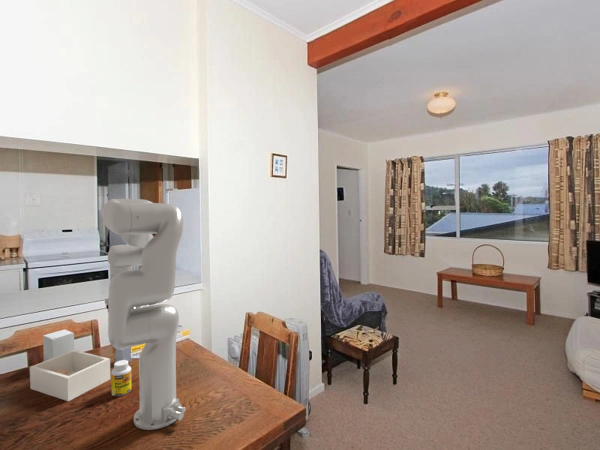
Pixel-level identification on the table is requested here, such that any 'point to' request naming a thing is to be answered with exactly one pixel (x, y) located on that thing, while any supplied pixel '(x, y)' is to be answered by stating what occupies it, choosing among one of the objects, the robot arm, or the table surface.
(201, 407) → the table surface
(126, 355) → the lid
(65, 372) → the terracotta block
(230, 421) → the table surface
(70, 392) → the storage box
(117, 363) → the supplement bottle
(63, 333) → the supplement box
